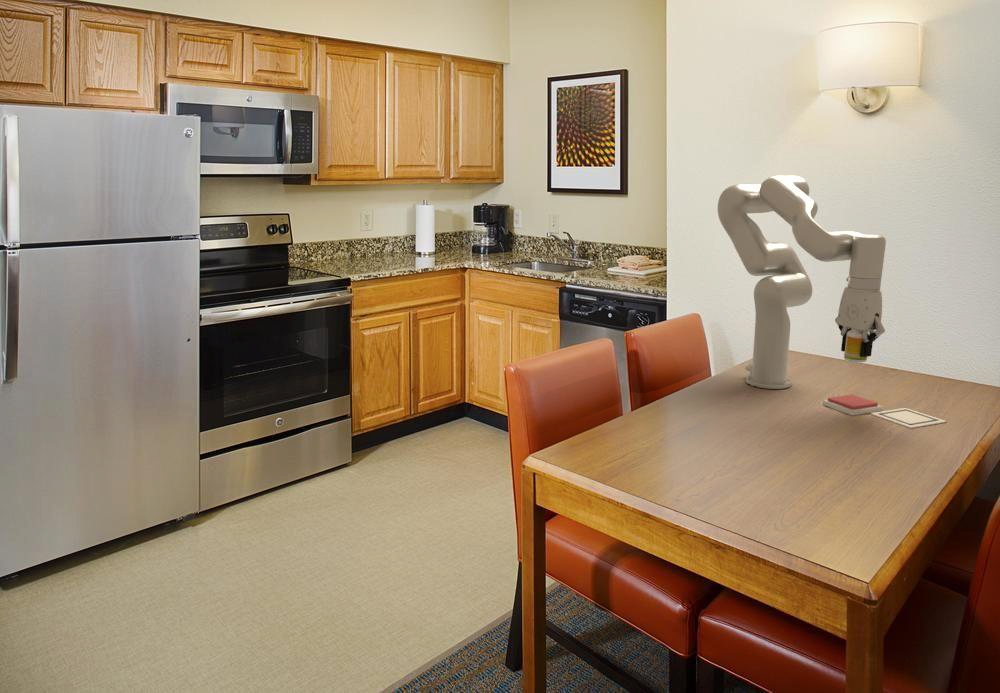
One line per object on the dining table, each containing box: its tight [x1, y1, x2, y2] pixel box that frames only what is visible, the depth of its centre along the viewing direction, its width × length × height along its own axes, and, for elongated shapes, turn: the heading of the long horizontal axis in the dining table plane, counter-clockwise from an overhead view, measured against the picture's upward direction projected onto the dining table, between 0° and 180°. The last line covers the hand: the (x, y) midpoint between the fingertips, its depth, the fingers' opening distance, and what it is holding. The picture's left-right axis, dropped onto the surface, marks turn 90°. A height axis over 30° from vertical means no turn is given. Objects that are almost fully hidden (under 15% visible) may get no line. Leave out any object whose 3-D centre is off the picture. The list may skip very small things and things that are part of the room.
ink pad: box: [822, 394, 883, 416], centre depth 202 cm, size 10×10×2 cm
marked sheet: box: [870, 407, 948, 429], centre depth 193 cm, size 12×12×1 cm
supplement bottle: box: [843, 328, 870, 363], centre depth 198 cm, size 5×5×10 cm
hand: (855, 353), depth 199 cm, fingers closed on supplement bottle, 5 cm apart
